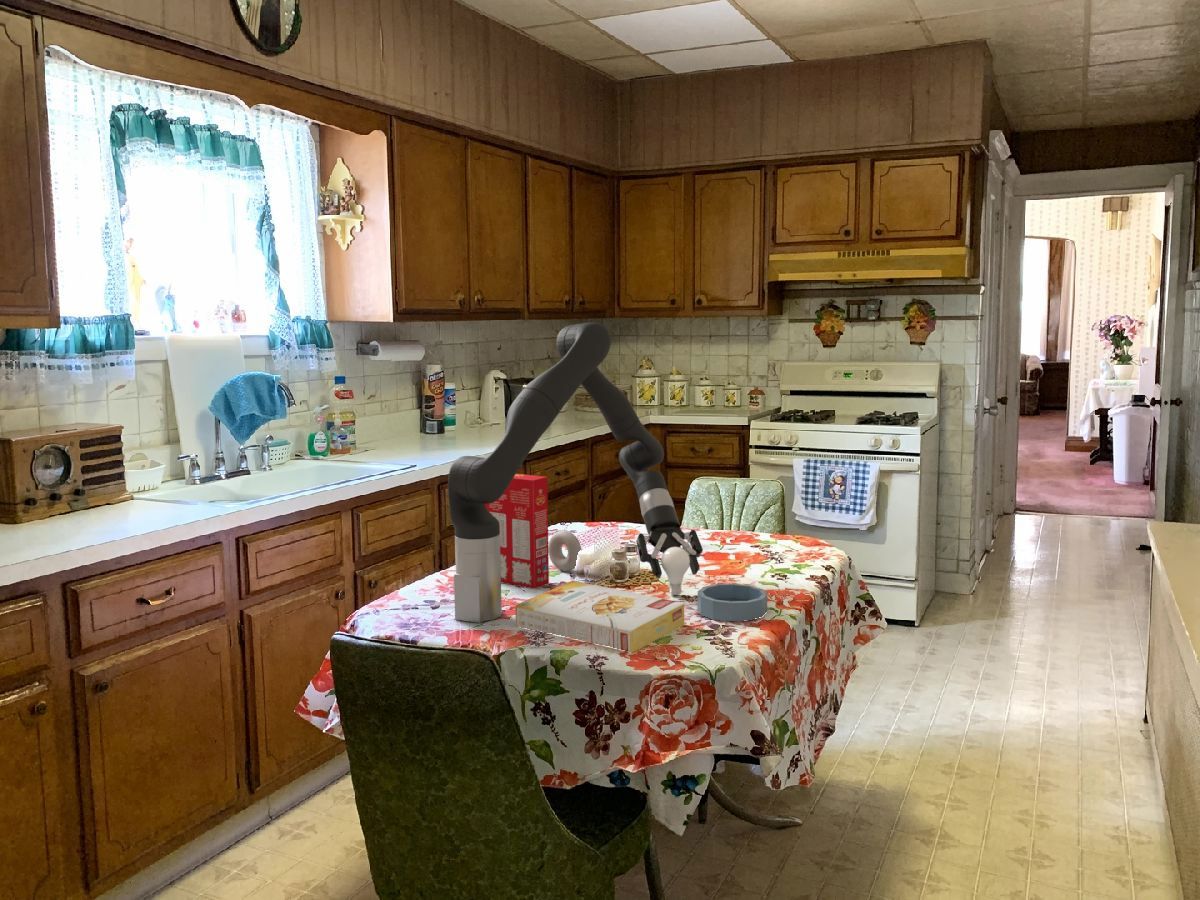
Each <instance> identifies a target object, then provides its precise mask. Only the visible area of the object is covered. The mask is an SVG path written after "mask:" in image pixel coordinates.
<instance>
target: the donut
mask: <svg viewBox="0 0 1200 900" xmlns="http://www.w3.org/2000/svg"><path fill="white" fill-rule="evenodd" d="M563 545H564V546H565V547H566V549H567V555H566V556H565V554H564V553H563V549H562V548H563ZM580 550H581V551H582V545H581V543H580V541H579V539H578V537H577V536H576V535H575V534H574V533H573V532H572V531H568V530H557V531H556V532H554V533H553V534H552V536H551V537H550V539H549V540H548V557H549V559H550V561H551V563H552V564H553V566H554V567H555V568H557V569H558V570H560V571H562V572H570V571H573V570H574V569H576V568H575V566H576V560H577V555H578V552H579V551H580Z"/></svg>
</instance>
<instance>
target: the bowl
mask: <svg viewBox="0 0 1200 900" xmlns="http://www.w3.org/2000/svg"><path fill="white" fill-rule="evenodd" d="M768 597H769V596H768V593H767V592H766V591H765V590H764V589H763V588H760V587H757V586H754V585H750V584H740V583H716V584H715V583H714V584H710V585H705V586H703V587H701V589H699V590H697V609H696V610H697V611H698V613H699V615H700V616H702V617H704V616H705V618H707V617H708V618H707V619H709V618H710V620H712V619H714V620H713V621H718V620H723V621H722V622H726V621H744V620H751V619H755V618H759V617H762V616H763V615H764V614H765V613H766V612H767V613H768Z"/></svg>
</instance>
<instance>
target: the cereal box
mask: <svg viewBox="0 0 1200 900" xmlns="http://www.w3.org/2000/svg"><path fill="white" fill-rule="evenodd" d="M514 608H515V627H516V626H517V627H521V628H520V629H522V628H527V629H532V630H538V631H542V632H547V633H552V634H556V635H561V636H565V637H570V638H574V639H578V640H582V641H587V642H591V643H595V644H600V645H605V646H610V647H613V648H617V649H621V650H625V651H628V652H627V653H629V652H633V653H635V652H637V651H639V650H641V649H643V648H644V646H645V647H646V646H648V645H650V644H652V643H654V642H655V640H656V641H658V640H660V639H661V638H663V637H665V636H667V635H669V634H671V633H673V632H674V631H676V630H678V629H680V628H681V627H683V625H685V602H680V601H675V600H670V599H666V598H660V597H656V596H653V595H647V594H642V593H636V592H632V591H628V590H627V591H626V590H623V589H618V588H612V587H607V586H602V585H598V584H592V583H586V582H581V581H577V580H570V581H568V582H565V583H564V584H561V585H560V586H557V587H554V588H552V589H550V590H547V591H545V592H542V593H541V594H539V595H536V596H533V597H532V598H529V599H526V600H523V601H522V602H520V603H517V604H516V605H515V607H514ZM517 627H516V628H517ZM679 627H680V628H679ZM677 628H678V629H677ZM675 629H676V630H675ZM673 630H674V631H673ZM672 631H673V632H672ZM670 632H671V633H670ZM668 633H669V634H668ZM666 634H667V635H666ZM664 635H665V636H664ZM659 638H660V639H659ZM657 639H658V640H657ZM653 641H654V642H653ZM651 642H652V643H651ZM642 647H643V648H642ZM640 648H641V649H640ZM638 649H639V650H638ZM636 650H637V651H636ZM634 651H635V652H634Z"/></svg>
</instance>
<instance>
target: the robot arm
mask: <svg viewBox="0 0 1200 900" xmlns="http://www.w3.org/2000/svg"><path fill="white" fill-rule="evenodd" d="M611 339H612V337H611V334H610V331H609V329H608V328H607V327H606V326H604V325H603V324H601V323H599V322H583V323H576V324H570V325H567V326H564V327H563V328H562V329H561V330H560V331H559V332H558V334H557V337H556V348H557V352H558V354H559V356H560V357H561V359H560V360H559V361H558V362H557V363H556V364H554V365H553V366H551V367H550V368H548V369H547V370H545V371H544V372H542V373H540V374H539V375H538V376H537V377H535V378H534V379H532V380H531V381H530V382H529V383H528V384H526V386H525V387H523V389H522V390H521V392H520V393H519V394H518V396H516V398H515V399H514V400H513V402H512V403H511V404H510V406H509V409H508V411H507V415H506V419H505V421H506V422H505V430H504V435H503V436H502V437H503V438H502V439H501V441H500V442H499V443H498V445H497V446H496V447H495V449H493V451H492V452H491V453H490V454H489V455H488V456H486V457H479V456H474V455H473V456H472V455H464V456H463V455H462V456H460V457H458V458H456V459H455V460H454V461H453V463H452V465H451V466H450V469H449V471H448V472H449V473H448V477H447V478H448V479H447V492H448V495H447V496H448V505H449V515H450V516H449V517H450V522H451V524H452V526H453V529H454V553H455V554H454V555H455V557H454V559H455V573H454V575H453V589H454V590H453V591H454V592H453V594H454V599H453V600H454V619H455V620H458V621H459V620H460V621H463V622H464V621H465V622H470V623H471V622H472V623H478V624H479V623H480V624H481V623H483V622H487V621H492V620H496V619H498V618H500V617H501V616H502V583H501V566H500V524H499V521H498V520H497V519H496V518H495V517H494V516H493V515H492V514H491V513H490V512H489V511H488V509H487V508H486V506H485V504H490V503H493V502H495V501H496V500H498V499H499V498H500V497H501V496H502V495H503V493H504V492H505V491H506V489H507V488H508V486H509V484H510V483H511V481H512V479H513V478H514V476H515V474H518V473H517V472H518V471H519V469H520V468H521V466H522V464H523V463H524V461H525V459H527V457H528V455H529V454H530V452H531V451H532V449H533V448H534V446H535V445H536V444H537V442H538V441H539V440H540V439H541V437H542V436H543V434H544V433H546V431H547V430H548V428H549V427H550V426H551V425H552V424H553V422H554V421H555V420H556V418H557V416H558V415H559V414H560V413H561V411H562V410H563V408H564V406H566V404H567V403H568V401H570V400H571V398H572V396H573V395H574V394H575V393H576V391H577V390H578V388H579V387H580V386H582V387H583V388H584V390H585V391H586V393H588V395H589V397H590V398H591V399H592V400H593V402H594V404H595V405H596V406H597V408H598V409H599V411H600V413H601V414H602V417H603V418H604V420H605V422H606V424H607V426H608V428H609V429H610V432H611V434H612V435H613V437H614V439H616V441H619V442H627V441H635V440H636V441H635V442H632V443H630V444H628V445H625V446H624V447H622V448H621V449H620V451H619V454H618V461H619V463H620V465H621V467H622V468H623V470H624V471H625V473H626V474H627V475H628V477H629V478H630V479H631V482H632V484H633V485H634V487H635V490H636V495H637V497H638V501H639V506H640V507H639V509H640V511H641V513H640V514H641V516H642V518H643V522H644V526H645V529H646V532H647V535H644V534H643V533H639V534H638V535H637V539H636V540H635V542H636V543H635V544H636V547H637V551H638V552H637V553H638V558H639V560H640V562H641V563H648V564H649V566H650V569H651V573H652V574H653V576H655V577H656V579H660V578H661V576H662V574H663V572H662V567H661V564H660V561H659V558H657V557H658V555H659V553H662V554H663V553H664V552H665V551H666V550H667V549H668V548H671V547H680V548H682V549H684V550H685V551H686V552H687V553H688V555H689V558H690V565H689V568H690V570H691V573H692V575H693V576H694V575H697V574H698V572H699V570H700V564H699V561H698V558H700V556H701V554H702V553H703V551H704V549H703V546H702V544H701V541H700V539H699V537H698V536H699V535H698V533H697V532H696V530H695V529H691V530H690V531H688V532H684V531H683V530H682V528H681V524H680V521H679V517H678V515H677V512H676V509H675V504H674V501H673V499H672V497H671V495H670V493H669V490H668V486H667V483H666V481H665V477H664V476H663V474H662V472H660V471H659V470H655V469H651V468H653V467H655V466H657V465H659V464H662V462H663V461H664V457H665V451H664V448H663V446H662V444H661V443H660V441H659V440H658V439H657V438H656V437H655V436H654V435H653V433H651V432H650V431H649V430H648V429H647V428H646V427H645V426H644V424H643V423H642V422H641V421H640V418H639V416H638V415H637V413H636V410H635V409H634V407H633V405H632V403H631V401H630V400H629V399H628V397H627V396H626V395H625V393H623V392H622V390H620V389H619V388H618V387H617V386H616V385H615V384H613V383H612V382H611V381H610V380H609V379H608V378H607V377H606V376H605V375H604V374H603V372H602V371H601V370H600V369H599V368H598V367H599V366H600V365H601V364H602V363H603V362H604V360H605V359H606V358H607V356H608V354H609V352H610V349H611V344H612V340H611ZM648 469H650V470H648ZM685 539H686V540H685ZM647 542H649V543H647ZM648 544H650V545H651V546H652V547H654V549H653V551H652V553H649V552H648V548H647V545H648Z"/></svg>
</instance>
